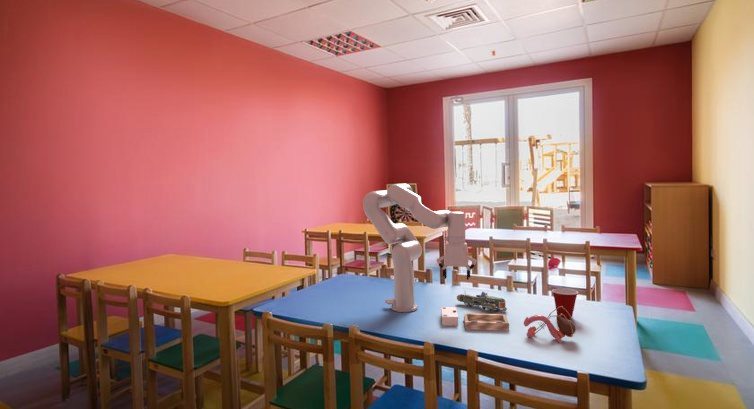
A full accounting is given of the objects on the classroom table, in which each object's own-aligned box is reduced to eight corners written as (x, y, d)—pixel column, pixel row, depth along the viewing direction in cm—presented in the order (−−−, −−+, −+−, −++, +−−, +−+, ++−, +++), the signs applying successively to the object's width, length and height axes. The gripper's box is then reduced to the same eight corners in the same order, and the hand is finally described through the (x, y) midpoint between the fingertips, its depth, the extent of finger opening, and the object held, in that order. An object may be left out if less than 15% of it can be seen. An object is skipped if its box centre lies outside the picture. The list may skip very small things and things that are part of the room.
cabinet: (465, 329, 176) (465, 321, 175) (464, 319, 186) (464, 312, 186) (509, 330, 173) (509, 322, 173) (505, 321, 184) (505, 313, 183)
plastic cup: (576, 314, 190) (577, 287, 190) (579, 322, 180) (580, 294, 179) (550, 312, 194) (550, 286, 193) (552, 320, 184) (552, 292, 183)
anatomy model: (519, 320, 174) (549, 293, 168) (549, 349, 170) (581, 322, 164) (516, 329, 164) (547, 301, 158) (547, 360, 160) (581, 332, 154)
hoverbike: (502, 315, 191) (502, 297, 190) (452, 306, 206) (451, 289, 206) (510, 310, 199) (510, 292, 198) (460, 301, 214) (460, 285, 213)
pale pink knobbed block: (458, 326, 180) (458, 315, 180) (442, 325, 181) (442, 315, 181) (455, 315, 193) (455, 306, 193) (441, 315, 194) (441, 305, 193)
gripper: (435, 241, 184) (435, 279, 185) (476, 241, 180) (476, 281, 181) (437, 238, 191) (437, 275, 193) (476, 239, 187) (476, 277, 189)
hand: (456, 278), depth 187 cm, fingers open, 9 cm apart
